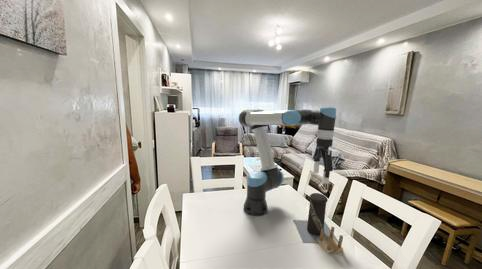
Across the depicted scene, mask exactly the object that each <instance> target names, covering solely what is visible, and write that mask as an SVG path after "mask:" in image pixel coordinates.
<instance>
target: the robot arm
mask: <svg viewBox="0 0 482 269" xmlns="http://www.w3.org/2000/svg"><path fill="white" fill-rule="evenodd" d="M336 119H337V108H335V107H333V106H331V107H330V106H328V107H327V106H321V107H319V110H312V109H289V110H274V111H273V110H272V111H271V110H270V111H266V110H264V109H244V110H242V111H241V112H240V113H239V115H238V121H239V124H240V125H241V126H242V127H243V128H250V130H251V132H252V133H254V137H255V142H256V147H257V151H258V156H259V160H260V164H261V169H260V170H258V171H252V172H250V173H249V174H248V175H247V181H246V183H247V185H246V199H245V202H244V203H243V211H244V213H246V214H247V215H249V216H253V217H262V216H265V215H266V214H268V211H269V210H268V209H269V208H268V203H267V200H266V193H267V192H269V191H271V190H275V189H277V188H279V187H280V186H282V184H283V183H284V173H283V172H282V171H281V169H279V168H278V165H276V164H275V159H274V155H273V151H272V149H271V144H270V139H269V135H268V132H267V130H268V128H269V126H289V127H292V126H293V127H294V126H302V125H303V126H305V125H311V126H312V125H313V126H317V131H316V132H317V133H316V137H317V138H316V143H315V145H316V146H315V150H314V153H313V157H312V159H313V161H314V162H313V171H312V173H313V174H319V170H320V162H321V158H322V162H323V168H324V169H323V172H322V181H321V182H322V184H329V181H330V174H331V172H333V169H334V168H333V158H332V154H333V153H332V152H333V151H332V150H330V148H332V146H333V142H334V140H333V139H334V135H335V127H336Z"/></svg>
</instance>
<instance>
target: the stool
mask: <svg viewBox="0 0 482 269" xmlns="http://www.w3.org/2000/svg"><path fill="white" fill-rule="evenodd" d="M330 230H331V232H330V236H327V237H323V236H324V229H323V228H322V229H321V234H320V238H317V242H318V243H317V244H319V246H321V247H322V249H323V250H324V251H325V252H326V253H327V254H328V255H329V254H334V253H339V252H343V251H344V248H343V247H342V244H343V241H344V240H343V238H344V236H343V235H341V234H340V235H339V238H338V241H339V242H337V241H336V240H335V239H334V238H333V234H334V235H335V227H334V226H331V228H330Z"/></svg>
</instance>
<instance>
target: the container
mask: <svg viewBox="0 0 482 269" xmlns="http://www.w3.org/2000/svg"><path fill="white" fill-rule="evenodd" d="M328 200H329V199H328V198H327V196H326V195H324V194H322V193H319V192H313V193H311V194H310V195H309V207H308V208H309V209H308V218H307V221H308V224H307V231H308V232H309V233H310V234H312V235H316V236H320V234H321V229H322V228H323V229H324V221H325V218H326V207H327V202H328Z"/></svg>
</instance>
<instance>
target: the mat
mask: <svg viewBox="0 0 482 269" xmlns="http://www.w3.org/2000/svg"><path fill="white" fill-rule="evenodd" d="M292 222H293V223H294V224H295V227H296V230H297V231H298V234H299V236H300V238H301V241H302V243H303V244H304V243H305V244H319V243H318V242H317V238H320V236H316V235H312V234H310V233H309V232H308V231H307V224H308V219H307V220H302V219H301V220H300V219H298V220H297V219H294V220H293V221H292ZM330 232H331V228H330V227H329V225H328V224H327V222H326V221H325V220H324V236H323V237H327V236H330ZM333 238H334V239H335V240H336V241H337V242H339V239H338V238H337V237H336V235H335V233H334V234H333Z"/></svg>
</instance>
